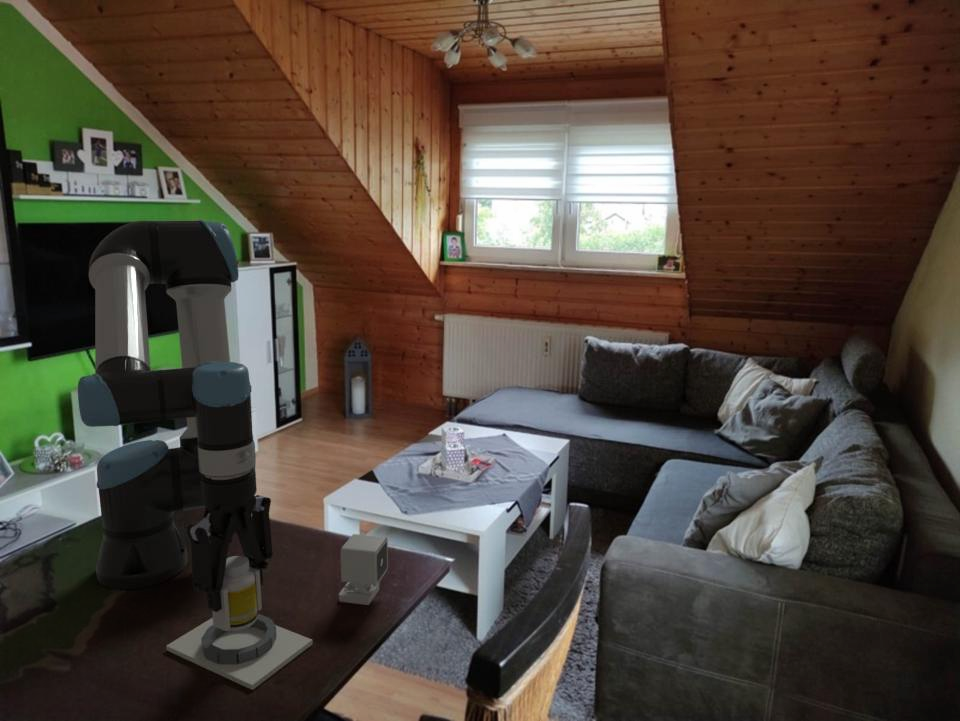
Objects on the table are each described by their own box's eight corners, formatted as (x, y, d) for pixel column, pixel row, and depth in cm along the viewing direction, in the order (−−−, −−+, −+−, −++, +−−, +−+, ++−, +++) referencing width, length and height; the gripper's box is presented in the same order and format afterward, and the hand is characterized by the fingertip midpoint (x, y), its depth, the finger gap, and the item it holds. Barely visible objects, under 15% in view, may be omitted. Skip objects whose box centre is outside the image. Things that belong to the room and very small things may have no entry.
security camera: (376, 607, 116) (375, 552, 114) (337, 602, 118) (335, 548, 115) (388, 588, 122) (387, 535, 120) (351, 583, 124) (349, 531, 122)
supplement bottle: (265, 617, 105) (261, 557, 103) (239, 636, 101) (235, 574, 99) (238, 608, 108) (234, 550, 106) (211, 626, 103) (206, 566, 101)
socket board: (166, 650, 104) (165, 636, 104) (229, 611, 115) (228, 598, 114) (252, 690, 96) (251, 674, 95) (312, 644, 106) (311, 630, 106)
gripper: (191, 498, 90) (204, 658, 94) (293, 456, 105) (300, 595, 110) (153, 487, 93) (168, 641, 98) (257, 448, 109) (265, 583, 114)
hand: (238, 616), depth 104 cm, fingers closed on supplement bottle, 5 cm apart
